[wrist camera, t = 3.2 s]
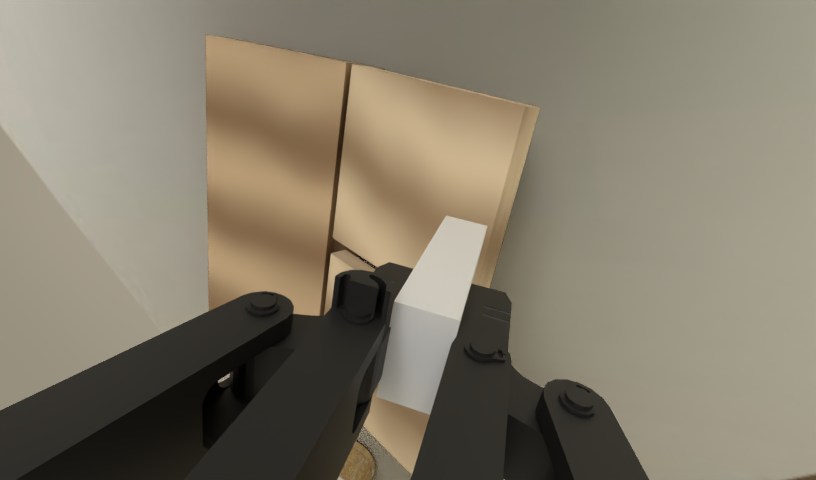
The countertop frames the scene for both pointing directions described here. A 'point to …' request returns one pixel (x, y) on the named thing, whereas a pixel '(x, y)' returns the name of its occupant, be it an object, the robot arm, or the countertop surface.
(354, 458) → the sprinkles bottle
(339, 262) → the plank
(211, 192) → the laid board
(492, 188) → the plank
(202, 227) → the countertop surface
